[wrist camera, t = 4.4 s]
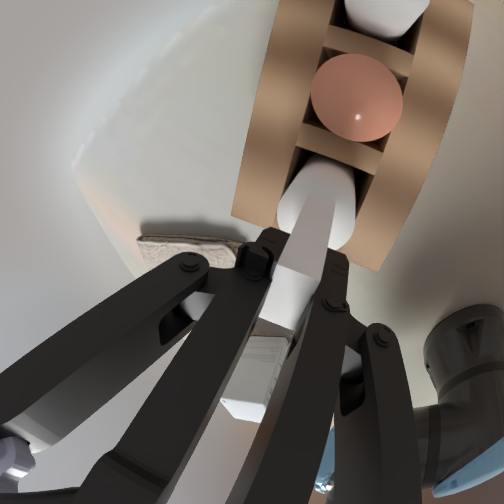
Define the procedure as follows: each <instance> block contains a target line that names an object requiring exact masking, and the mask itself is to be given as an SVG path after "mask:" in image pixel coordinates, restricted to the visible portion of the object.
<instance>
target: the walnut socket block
mask: <svg viewBox="0 0 504 504" xmlns="http://www.w3.org/2000/svg"><path fill="white" fill-rule="evenodd" d="M473 9H474V4H473V3H471V2H469V1H468V0H430V2H429V5H428V7H427V8H426V9H425V10H424V12H423V13H422V14H421V15H420V16H419V17H418V18H417V20H416V21H415V22H414V23H413V24H412V25H411V27H410V28H409V29H408V30H407V31H406V32H405V34H404V35H403V36H402V37H401V38H400V40H399V44H398V48H397V47H394V46H392V45H389V44H387V43H384V42H382V41H379V40H376V39H374V38H371V37H368V36H365V35H362V34H359V33H356V32H353V31H350V30H347V29H343V25H344V21H345V17H346V10H345V0H280V2H279V5H278V9H277V13H276V17H275V20H274V24H273V28H272V32H271V36H270V40H269V44H268V48H267V52H266V56H265V60H264V64H263V68H262V72H261V77H260V81H259V85H258V89H257V94H256V98H255V102H254V107H253V111H252V116H251V120H250V125H249V129H248V134H247V138H246V143H245V148H244V152H243V157H242V162H241V167H240V172H239V176H238V181H237V186H236V191H235V196H234V201H233V206H232V212H231V216H233V217H236V218H239V219H241V220H244V221H247V222H249V223H252V224H255V225H257V226H260V227H263V228H266V229H267V228H269V227H274V228H276V229H279V230H280V228H279V225H278V221H277V208H278V204H279V202H280V200H281V198H282V196H283V195H284V193H285V192H286V190H287V189H288V188H289V186H290V185H291V183H292V182H293V180H294V179H295V177H296V176H297V174H298V173H299V172H300V170H301V169H302V167H303V166H304V163H305V159H306V156H307V153H308V150H310V151H313V152H316V153H319V154H322V155H325V156H327V157H330V158H333V159H335V160H338V161H341V162H343V163H346V164H348V165H351V166H353V167H356V168H358V169H359V170H358V172H357V175H356V178H355V227H354V231H353V233H352V235H351V237H350V239H349V240H348V241H347V242H346V243H345V244H344V245H343V246H342V247H340V248H339V249H337V250H336V251H338V252H341V253H343V254H346V256H347V259H348V261H350V262H353V263H355V264H358V265H360V266H363V267H365V268H368V269H370V270H373V271H375V272H378V270H379V268H380V267H381V265H382V263H383V261H384V260H385V258H386V256H387V255H388V253H389V251H390V249H391V247H392V246H393V244H394V242H395V240H396V238H397V236H398V235H399V233H400V231H401V229H402V227H403V225H404V223H405V221H406V219H407V217H408V215H409V213H410V211H411V209H412V207H413V205H414V203H415V201H416V199H417V197H418V195H419V193H420V190H421V188H422V186H423V184H424V181H425V179H426V177H427V175H428V172H429V170H430V168H431V165H432V163H433V160H434V158H435V155H436V153H437V150H438V148H439V145H440V142H441V140H442V137H443V134H444V132H445V129H446V126H447V123H448V120H449V117H450V114H451V111H452V108H453V104H454V101H455V98H456V94H457V91H458V87H459V84H460V80H461V76H462V72H463V68H464V63H465V59H466V54H467V49H468V44H469V38H470V32H471V25H472V18H473ZM343 54H361V55H365V56H369V57H371V58H373V59H375V60H377V61H379V62H380V63H382V64H383V65H384V66H386V67H387V68H388V69H389V70H390V71H391V73H392V74H393V75H394V76H395V78H396V80H397V81H398V83H399V86H400V88H401V92H402V97H403V108H402V113H401V116H400V119H399V121H398V123H397V124H396V126H395V127H394V128H393V129H392V130H391V131H390V132H389V133H388V134H386V135H385V136H383V137H381V138H379V139H376V140H373V141H366V142H359V141H352V140H348V139H345V138H342V137H340V136H338V135H336V134H335V133H333V132H332V131H330V130H329V129H328V128H327V127H326V126H325V125H324V124H323V123H322V122H321V121H320V119H319V118H318V116H317V114H316V112H315V110H314V108H313V105H312V100H311V85H312V81H313V78H314V76H315V74H316V72H317V71H318V69H319V68H320V67H321V66H322V65H323V64H324V63H325V62H326V61H328V60H329V59H331V58H333V57H336V56H338V55H343Z"/></svg>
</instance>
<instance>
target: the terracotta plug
mask: <svg viewBox="0 0 504 504" xmlns="http://www.w3.org/2000/svg"><path fill="white" fill-rule="evenodd" d="M311 100H312V105H313V108H314V110H315V112H316V114H317V116H318V118H319V119H320V121H321V122H322V123H323V124H324V125H325V126H326V127H327V128H328V129H329V130H330V131H332V132H333V133H335V134H336V135H338V136H340V137H342V138H345V139H348V140H352V141H359V142H366V141H373V140H376V139H379V138H381V137H383V136H385V135H386V134H388V133H389V132H390V131H391V130H392V129H393V128H394V127H395V126H396V124H397V123H398V121H399V119H400V116H401V113H402V108H403V97H402V92H401V88H400V86H399V83H398V81H397V80H396V78H395V76H394V75H393V74H392V73H391V71H390V70H389V69H388V68H387V67H386V66H384V65H383V64H382V63H380V62H379V61H377V60H375V59H373V58H371V57H369V56H365V55H361V54H343V55H338V56H336V57H333V58H331V59H329V60H328V61H326V62H325V63H324V64H323V65H322V66H321V67H320V68H319V69H318V71H317V72H316V74H315V76H314V78H313V81H312V85H311Z"/></svg>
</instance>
